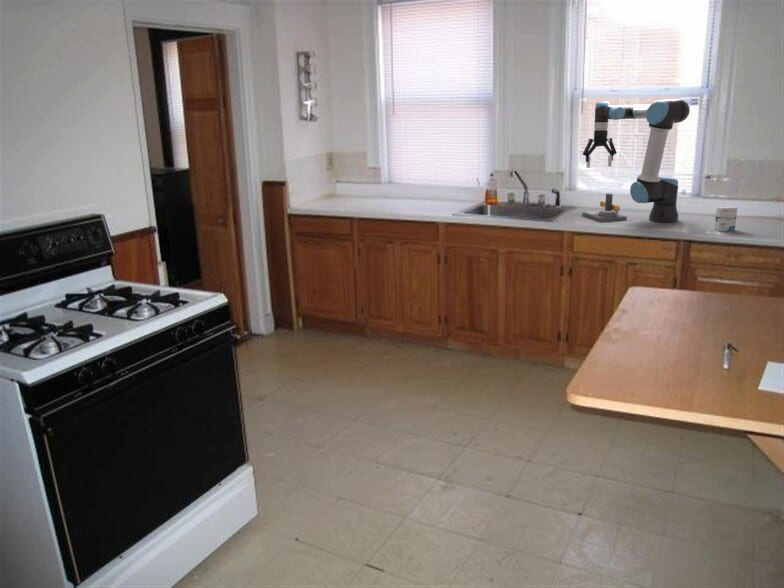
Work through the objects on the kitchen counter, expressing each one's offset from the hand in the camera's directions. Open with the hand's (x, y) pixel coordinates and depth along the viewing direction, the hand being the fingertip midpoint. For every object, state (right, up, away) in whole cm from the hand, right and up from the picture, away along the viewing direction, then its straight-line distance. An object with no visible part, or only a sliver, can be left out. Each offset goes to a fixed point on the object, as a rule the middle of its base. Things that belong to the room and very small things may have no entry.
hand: (598, 167), depth 413 cm
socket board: (-2, -31, -16) cm, 35 cm away
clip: (+1, -26, -17) cm, 31 cm away
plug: (-1, -31, -20) cm, 36 cm away
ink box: (+48, -42, -53) cm, 83 cm away
